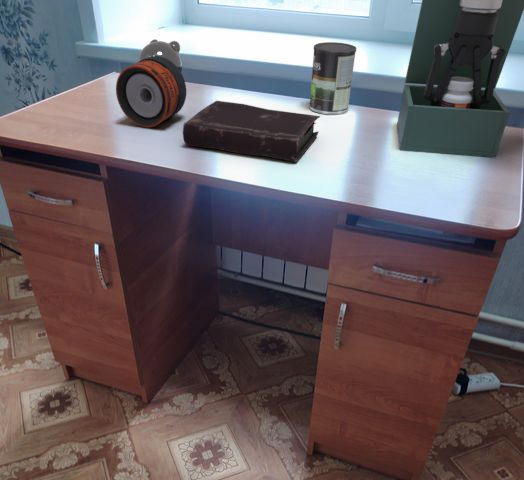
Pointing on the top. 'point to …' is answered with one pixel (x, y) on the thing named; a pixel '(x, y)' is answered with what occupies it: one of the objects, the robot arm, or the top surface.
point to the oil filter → (151, 91)
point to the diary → (251, 130)
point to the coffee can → (331, 77)
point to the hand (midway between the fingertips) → (447, 135)
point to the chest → (450, 125)
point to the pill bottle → (458, 93)
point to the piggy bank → (163, 51)
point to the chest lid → (440, 31)
